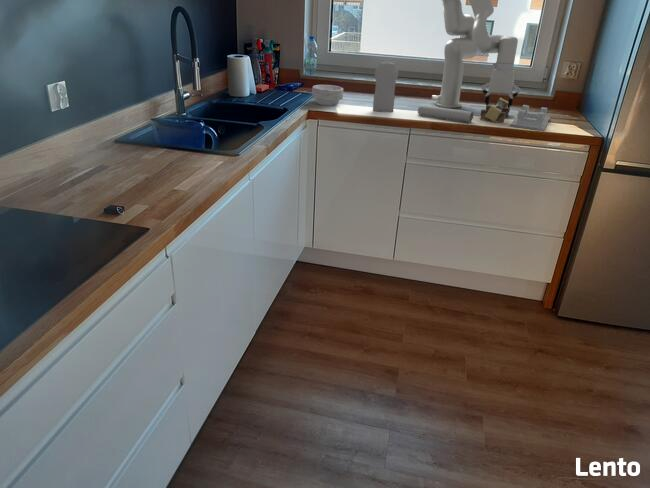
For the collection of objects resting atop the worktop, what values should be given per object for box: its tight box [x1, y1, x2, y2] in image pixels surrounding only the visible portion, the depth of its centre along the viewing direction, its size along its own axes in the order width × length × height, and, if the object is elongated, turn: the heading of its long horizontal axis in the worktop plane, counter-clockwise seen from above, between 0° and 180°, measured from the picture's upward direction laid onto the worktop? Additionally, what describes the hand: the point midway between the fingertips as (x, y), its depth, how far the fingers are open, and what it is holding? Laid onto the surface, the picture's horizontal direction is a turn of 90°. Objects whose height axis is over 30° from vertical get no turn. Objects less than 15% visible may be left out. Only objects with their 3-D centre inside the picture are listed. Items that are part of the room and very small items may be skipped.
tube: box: [417, 104, 474, 124], centre depth 229 cm, size 5×5×25 cm
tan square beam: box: [485, 97, 509, 123], centre depth 233 cm, size 5×24×5 cm, turn 154°
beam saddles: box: [479, 104, 511, 123], centre depth 234 cm, size 10×15×4 cm
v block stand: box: [509, 104, 551, 132], centre depth 227 cm, size 14×26×6 cm, turn 153°
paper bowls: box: [311, 84, 344, 106], centre depth 247 cm, size 15×15×8 cm
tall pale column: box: [372, 61, 399, 113], centre depth 233 cm, size 11×4×22 cm, turn 94°
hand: (497, 106), depth 232 cm, fingers open, 9 cm apart
